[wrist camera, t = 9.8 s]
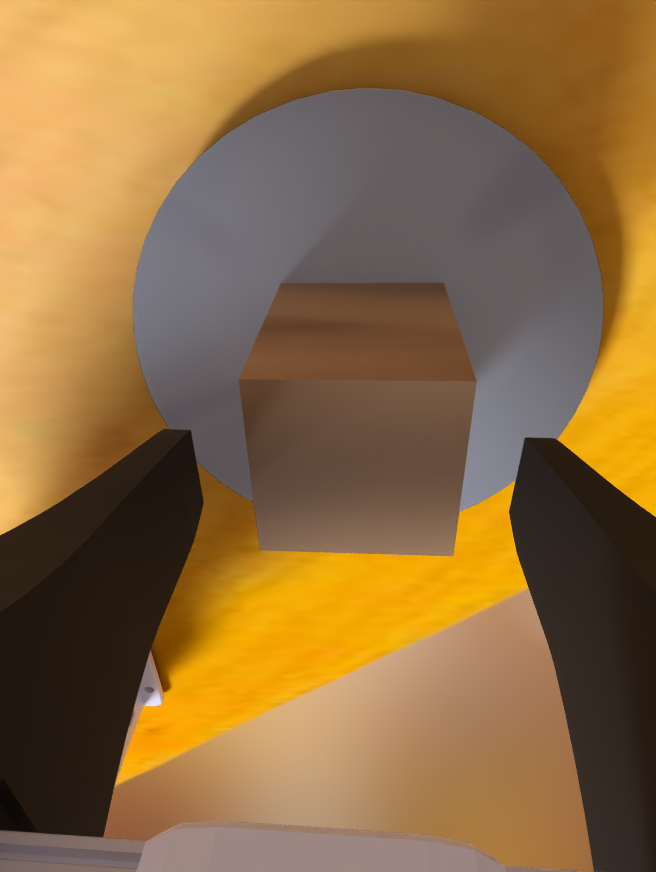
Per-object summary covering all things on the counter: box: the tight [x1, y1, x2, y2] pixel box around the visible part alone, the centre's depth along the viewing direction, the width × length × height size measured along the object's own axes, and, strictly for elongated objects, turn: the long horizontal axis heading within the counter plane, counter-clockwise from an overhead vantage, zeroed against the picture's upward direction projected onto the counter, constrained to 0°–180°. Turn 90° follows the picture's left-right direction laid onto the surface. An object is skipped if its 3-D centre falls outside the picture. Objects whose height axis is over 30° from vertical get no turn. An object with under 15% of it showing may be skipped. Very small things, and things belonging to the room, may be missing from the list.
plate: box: [133, 87, 604, 512], centre depth 18 cm, size 14×14×1 cm
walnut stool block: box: [238, 283, 477, 556], centre depth 15 cm, size 5×5×6 cm
